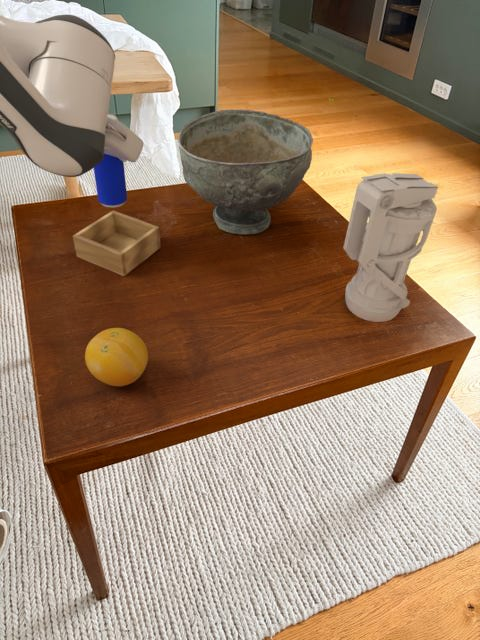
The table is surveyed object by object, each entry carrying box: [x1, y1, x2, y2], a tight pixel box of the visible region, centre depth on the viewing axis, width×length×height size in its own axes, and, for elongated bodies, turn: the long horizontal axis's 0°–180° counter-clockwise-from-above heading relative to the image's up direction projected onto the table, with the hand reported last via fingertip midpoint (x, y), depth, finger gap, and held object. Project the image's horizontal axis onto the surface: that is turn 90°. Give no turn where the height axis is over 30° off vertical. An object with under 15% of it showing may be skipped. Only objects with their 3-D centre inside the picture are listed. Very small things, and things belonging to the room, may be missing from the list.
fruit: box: [84, 327, 149, 387], centre depth 72 cm, size 9×8×8 cm
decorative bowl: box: [177, 108, 314, 235], centre depth 104 cm, size 26×26×20 cm
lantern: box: [343, 172, 439, 323], centre depth 81 cm, size 13×10×25 cm
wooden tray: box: [72, 210, 162, 277], centre depth 97 cm, size 12×12×5 cm
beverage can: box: [93, 113, 128, 209], centre depth 86 cm, size 5×5×15 cm
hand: (109, 152), depth 85 cm, fingers closed on beverage can, 5 cm apart
